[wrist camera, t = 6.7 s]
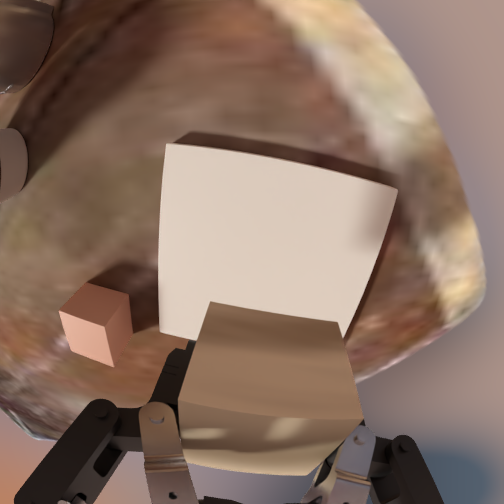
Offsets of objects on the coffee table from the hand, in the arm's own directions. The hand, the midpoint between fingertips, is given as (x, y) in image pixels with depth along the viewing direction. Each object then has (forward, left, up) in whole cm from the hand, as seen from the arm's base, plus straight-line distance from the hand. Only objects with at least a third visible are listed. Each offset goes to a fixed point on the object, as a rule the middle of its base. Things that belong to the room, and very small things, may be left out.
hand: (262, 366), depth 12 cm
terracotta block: (+8, -14, -10) cm, 19 cm away
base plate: (0, 0, -10) cm, 10 cm away
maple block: (0, 0, -1) cm, 1 cm away
